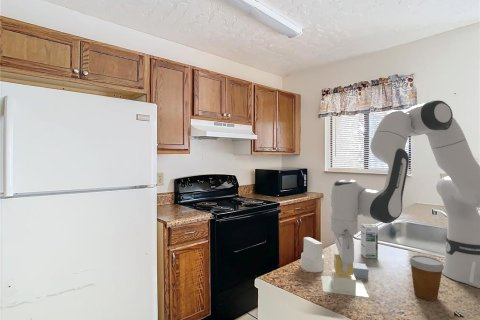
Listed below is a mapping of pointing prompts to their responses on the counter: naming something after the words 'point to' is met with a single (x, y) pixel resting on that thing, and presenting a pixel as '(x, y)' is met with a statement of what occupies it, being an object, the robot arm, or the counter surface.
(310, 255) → the cylinder with rectangular tab
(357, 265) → the slate brick
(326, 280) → the plate
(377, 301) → the counter surface
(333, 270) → the base brick
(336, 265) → the mustard brick
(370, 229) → the syrup box
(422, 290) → the disposable coffee cup
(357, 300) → the counter surface
